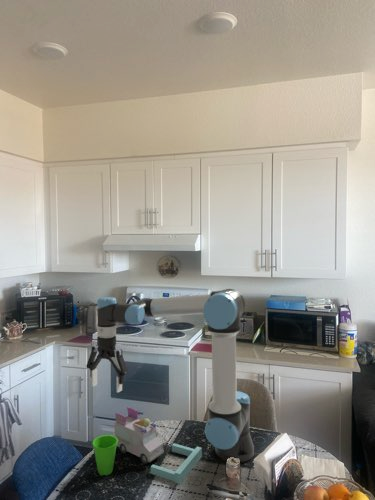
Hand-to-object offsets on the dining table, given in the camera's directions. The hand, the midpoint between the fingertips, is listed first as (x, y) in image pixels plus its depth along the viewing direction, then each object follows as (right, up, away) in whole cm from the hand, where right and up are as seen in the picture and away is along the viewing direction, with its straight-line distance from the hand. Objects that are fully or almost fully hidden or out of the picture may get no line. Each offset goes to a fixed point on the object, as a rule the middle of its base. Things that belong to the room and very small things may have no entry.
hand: (106, 388), depth 153 cm
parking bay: (+29, -23, -14) cm, 40 cm away
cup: (+3, -24, -17) cm, 29 cm away
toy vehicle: (+14, -23, -6) cm, 28 cm away
